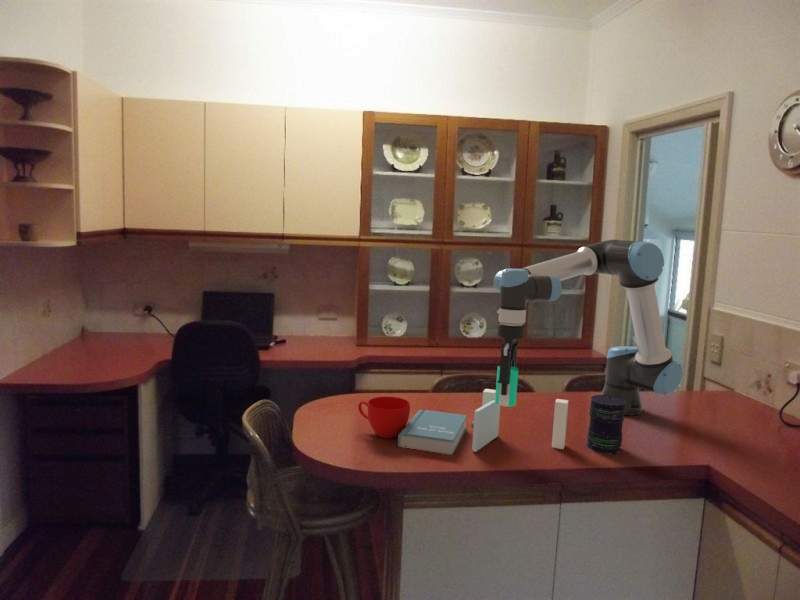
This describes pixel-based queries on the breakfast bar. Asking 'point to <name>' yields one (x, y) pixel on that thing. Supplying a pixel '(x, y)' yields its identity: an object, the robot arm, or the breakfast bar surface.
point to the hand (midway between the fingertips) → (505, 402)
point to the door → (485, 424)
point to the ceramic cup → (387, 415)
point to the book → (433, 431)
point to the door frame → (559, 418)
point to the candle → (512, 386)
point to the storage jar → (606, 423)
